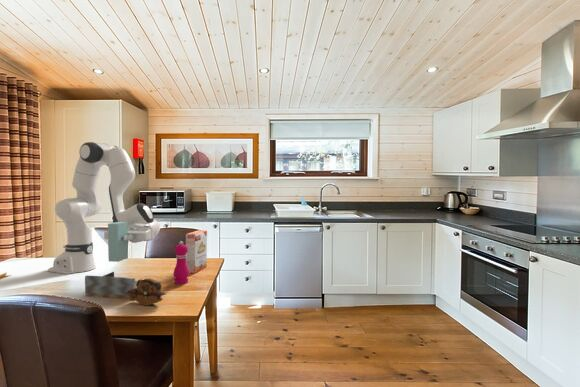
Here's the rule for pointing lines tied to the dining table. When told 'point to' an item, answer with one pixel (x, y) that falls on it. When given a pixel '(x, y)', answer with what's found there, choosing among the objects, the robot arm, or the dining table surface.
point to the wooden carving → (146, 292)
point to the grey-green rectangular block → (117, 241)
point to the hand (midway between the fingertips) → (116, 238)
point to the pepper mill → (181, 264)
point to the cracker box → (196, 250)
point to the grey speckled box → (109, 286)
